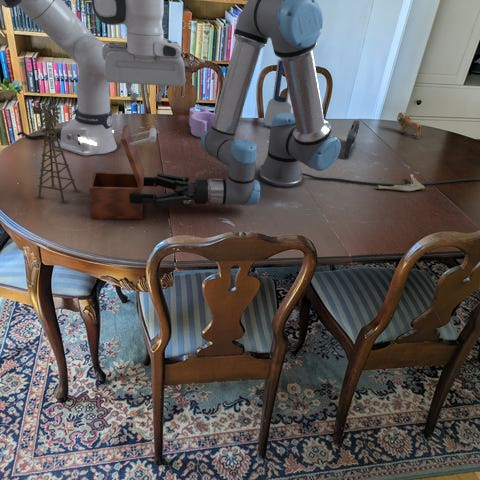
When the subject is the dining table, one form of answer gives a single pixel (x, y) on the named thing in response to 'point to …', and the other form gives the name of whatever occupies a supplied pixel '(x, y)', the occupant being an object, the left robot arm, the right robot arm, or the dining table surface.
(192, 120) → the clip
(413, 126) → the lion figurine
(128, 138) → the wooden panel with handle
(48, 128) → the miniature windmill
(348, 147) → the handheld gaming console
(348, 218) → the dining table surface
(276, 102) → the electronic device
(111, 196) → the open box
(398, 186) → the jawbone
